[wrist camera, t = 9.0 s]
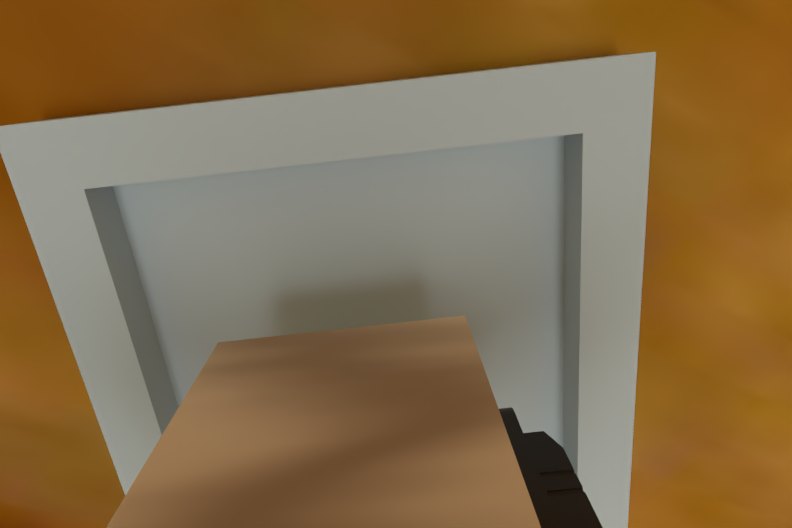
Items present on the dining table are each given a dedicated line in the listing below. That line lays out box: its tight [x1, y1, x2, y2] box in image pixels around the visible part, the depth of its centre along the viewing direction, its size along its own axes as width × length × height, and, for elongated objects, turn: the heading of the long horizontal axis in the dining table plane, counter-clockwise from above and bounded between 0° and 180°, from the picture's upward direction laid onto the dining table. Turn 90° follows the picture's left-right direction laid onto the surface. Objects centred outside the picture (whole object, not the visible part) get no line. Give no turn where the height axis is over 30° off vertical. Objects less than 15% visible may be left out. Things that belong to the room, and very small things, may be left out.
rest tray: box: [0, 52, 656, 528], centre depth 14 cm, size 14×14×2 cm
